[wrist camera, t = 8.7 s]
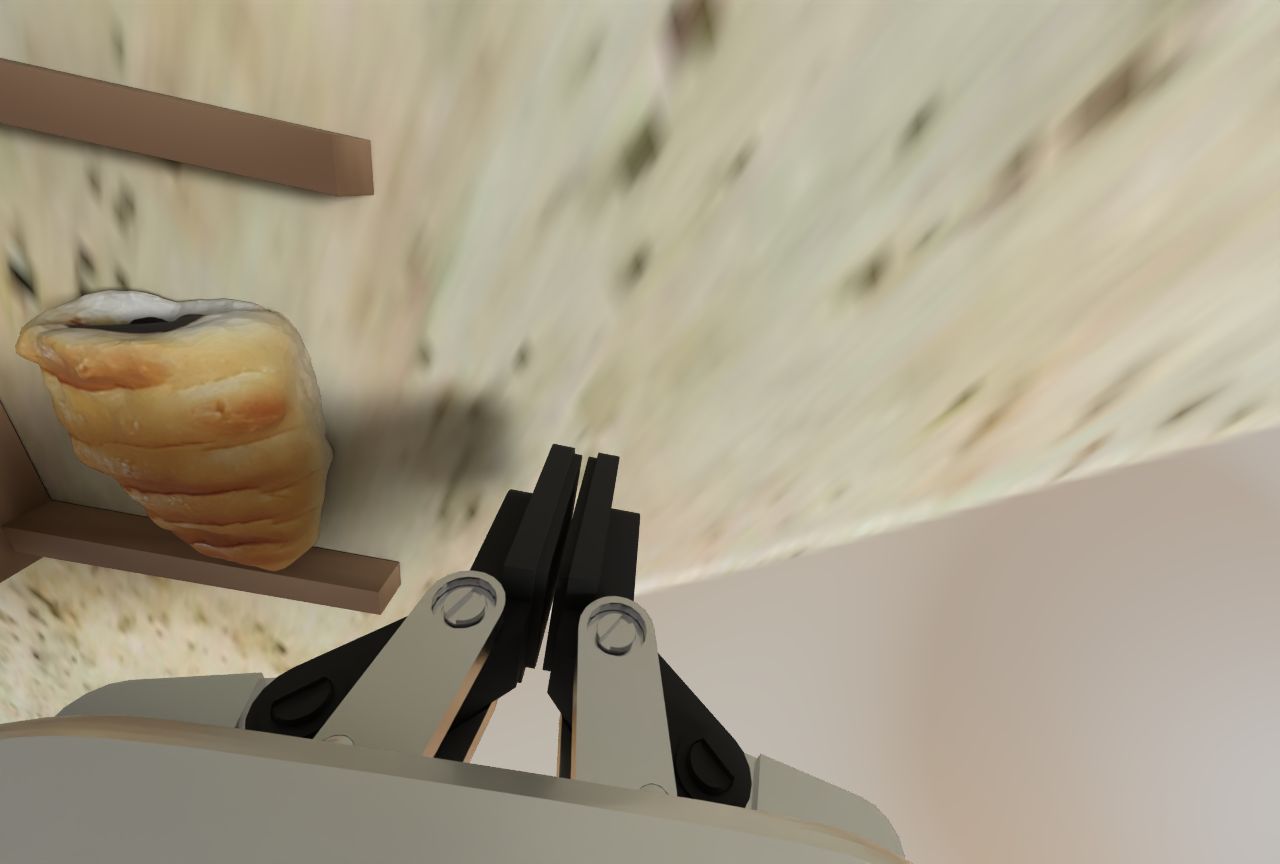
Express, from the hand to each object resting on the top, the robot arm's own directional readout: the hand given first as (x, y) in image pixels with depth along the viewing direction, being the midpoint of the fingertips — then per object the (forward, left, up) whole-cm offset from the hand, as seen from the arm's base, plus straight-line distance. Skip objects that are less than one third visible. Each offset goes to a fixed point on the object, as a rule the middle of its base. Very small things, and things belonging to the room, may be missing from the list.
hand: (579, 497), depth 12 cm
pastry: (+2, -11, -4) cm, 12 cm away
